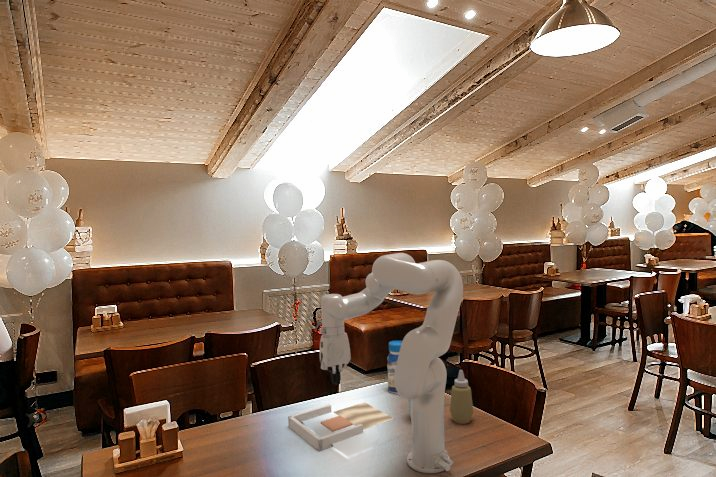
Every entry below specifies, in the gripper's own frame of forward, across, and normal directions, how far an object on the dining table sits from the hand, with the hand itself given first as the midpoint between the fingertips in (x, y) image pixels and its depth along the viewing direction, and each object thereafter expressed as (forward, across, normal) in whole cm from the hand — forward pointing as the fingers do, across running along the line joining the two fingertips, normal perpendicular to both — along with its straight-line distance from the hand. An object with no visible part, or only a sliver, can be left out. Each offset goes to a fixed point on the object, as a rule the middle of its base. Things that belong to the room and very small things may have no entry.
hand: (336, 383), depth 163 cm
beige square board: (+16, +11, +1) cm, 19 cm away
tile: (+16, 0, +1) cm, 16 cm away
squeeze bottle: (+16, +37, -22) cm, 46 cm away
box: (+15, -5, +1) cm, 16 cm away
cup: (+16, +25, -13) cm, 33 cm away
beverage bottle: (+16, +37, +13) cm, 42 cm away
